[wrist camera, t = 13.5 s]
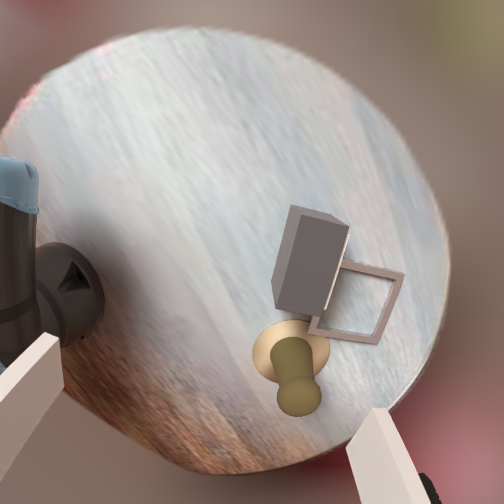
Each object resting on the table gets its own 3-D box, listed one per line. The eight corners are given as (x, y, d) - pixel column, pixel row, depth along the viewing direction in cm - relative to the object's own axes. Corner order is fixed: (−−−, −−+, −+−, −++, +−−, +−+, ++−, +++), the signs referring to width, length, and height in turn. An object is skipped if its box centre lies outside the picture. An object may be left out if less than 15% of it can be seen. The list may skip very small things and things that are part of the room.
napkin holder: (271, 281, 40) (275, 308, 32) (290, 204, 37) (301, 214, 29) (311, 289, 40) (324, 318, 32) (333, 215, 37) (352, 227, 30)
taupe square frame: (306, 330, 42) (307, 333, 41) (330, 255, 39) (332, 257, 38) (375, 341, 42) (377, 344, 42) (402, 272, 39) (404, 274, 39)
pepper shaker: (271, 373, 43) (276, 427, 33) (267, 339, 42) (271, 391, 31) (313, 367, 43) (327, 419, 32) (311, 333, 41) (327, 383, 31)
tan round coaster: (245, 376, 44) (244, 377, 43) (262, 312, 41) (262, 313, 41) (315, 386, 44) (315, 387, 44) (339, 326, 42) (340, 327, 41)
